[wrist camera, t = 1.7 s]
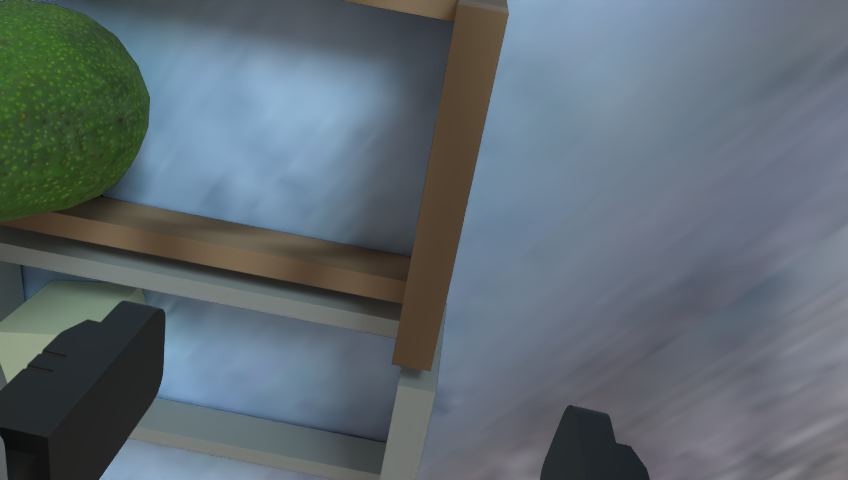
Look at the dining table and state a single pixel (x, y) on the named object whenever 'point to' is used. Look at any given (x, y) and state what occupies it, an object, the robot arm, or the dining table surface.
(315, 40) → the dining table surface
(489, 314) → the dining table surface
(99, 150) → the avocado
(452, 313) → the dining table surface
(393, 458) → the grey open rectangular frame
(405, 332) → the frame
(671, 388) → the dining table surface
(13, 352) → the sage block
